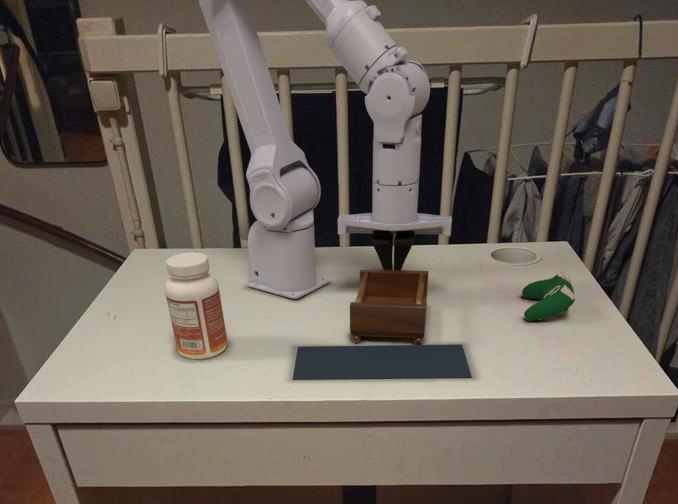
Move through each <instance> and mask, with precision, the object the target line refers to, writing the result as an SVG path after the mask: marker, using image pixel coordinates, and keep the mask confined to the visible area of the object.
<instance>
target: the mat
mask: <svg viewBox="0 0 678 504" xmlns="http://www.w3.org/2000/svg"><path fill="white" fill-rule="evenodd" d="M295 356H296V357H295V361H294V368H293V375H292V380H294V381H295V380H296V381H297V380H298V381H299V380H304V381H305V380H386V379H388V380H390V379H391V380H395V379H396V380H397V379H399V380H400V379H401V380H402V379H472V378H473V376H472V373H471V369H470V366H469V362H468V360H467V356H466V353H465V349H464V345H463V344H461V343H460V344H458V343H457V344H420V345H416V344H389V345H388V344H386V345H384V344H383V345H382V344H381V345H318V346H317V345H316V346H315V345H314V346H313V345H312V346H311V345H309V346H308V345H307V346H302V345H301V346H297V350H296V355H295Z"/></svg>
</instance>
